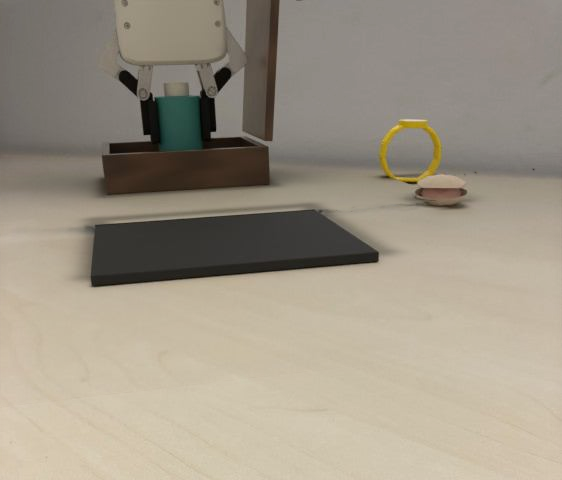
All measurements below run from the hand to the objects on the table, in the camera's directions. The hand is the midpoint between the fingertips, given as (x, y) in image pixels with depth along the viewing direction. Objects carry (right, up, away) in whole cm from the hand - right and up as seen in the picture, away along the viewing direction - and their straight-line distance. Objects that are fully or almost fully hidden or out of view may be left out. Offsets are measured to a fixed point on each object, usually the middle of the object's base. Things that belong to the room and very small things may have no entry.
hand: (180, 139), depth 70 cm
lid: (+8, +8, -2) cm, 11 cm away
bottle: (0, -4, +2) cm, 4 cm away
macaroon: (+24, -9, -10) cm, 27 cm away
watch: (+23, -4, +1) cm, 23 cm away
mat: (+6, -14, -21) cm, 26 cm away
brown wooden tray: (0, -4, +2) cm, 5 cm away
